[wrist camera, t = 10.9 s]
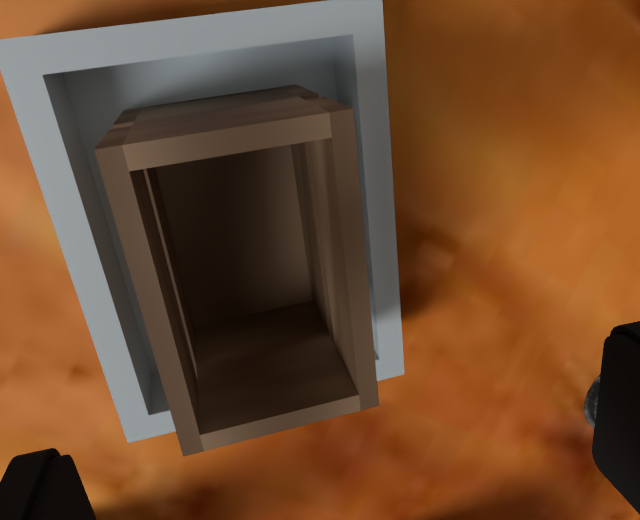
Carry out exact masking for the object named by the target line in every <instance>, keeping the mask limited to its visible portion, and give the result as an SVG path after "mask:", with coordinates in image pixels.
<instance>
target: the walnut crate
mask: <svg viewBox="0 0 640 520" xmlns="http://www.w3.org/2000/svg"><path fill="white" fill-rule="evenodd" d="M94 151H95V155H96V158H97V162H98V165H99V168H100V172H101V175H102V179H103V182H104V186H105V189H106V192H107V196H108V199H109V203H110V206H111V210H112V213H113V216H114V220H115V223H116V227H117V230H118V234H119V237H120V240H121V244H122V247H123V251H124V254H125V258H126V261H127V265H128V268H129V271H130V275H131V278H132V282H133V285H134V289H135V292H136V295H137V299H138V302H139V306H140V309H141V313H142V316H143V319H144V323H145V326H146V330H147V333H148V337H149V340H150V343H151V347H152V350H153V354H154V357H155V361H156V364H157V368H158V371H159V374H160V378H161V381H162V385H163V388H164V392H165V395H166V398H167V402H168V405H169V409H170V412H171V416H172V419H173V422H174V426H175V429H176V433H177V436H178V440H179V443H180V446H181V450H182V453H183V456H187V455H191V454H195V453H199V452H203V451H206V450H210V449H214V448H218V447H222V446H226V445H230V444H233V443H237V442H241V441H245V440H249V439H253V438H257V437H260V436H264V435H268V434H272V433H276V432H280V431H284V430H287V429H291V428H295V427H299V426H303V425H307V424H311V423H315V422H318V421H322V420H326V419H330V418H334V417H338V416H342V415H345V414H349V413H353V412H357V411H361V410H365V409H369V408H372V407H376V406H379V399H378V387H377V376H376V364H375V353H374V341H373V330H372V318H371V307H370V295H369V284H368V272H367V261H366V249H365V238H364V226H363V215H362V203H361V191H360V180H359V168H358V157H357V145H356V134H355V122H354V111H353V108H351V107H348V106H346V105H344V104H341V103H339V102H336V101H334V100H332V99H329V98H327V97H319V94H318V93H315V92H313V91H311V90H308V89H306V88H304V87H301V86H299V85H289V86H283V87H276V88H269V89H262V90H255V91H249V92H242V93H235V94H228V95H222V96H215V97H208V98H201V99H194V100H188V101H181V102H174V103H167V104H160V105H154V106H147V107H140V108H133V109H126V110H123V112H122V113H121V114H120V116H119V117H118V118H117V120H116V121H115V122H114V124H113V129H109V130H108V132H107V133H106V134H105V136H104V137H103V138H102V140H101V141H100V142H99V144H98V145H97V146H96V148H95V149H94Z"/></svg>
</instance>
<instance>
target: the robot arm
mask: <svg viewBox="0 0 640 520" xmlns="http://www.w3.org/2000/svg"><path fill="white" fill-rule="evenodd" d="M592 454H593V458H594V461H595V463H596V465H597V467H598V468H599V470H600V471H601V472H602V473H603V475H604V476H605V477H606V478H607V479H608V480H609V481H610V482H611V483H612V484H613V486H614V487H615V488H616V489H617V490H618V491H619V492H620V493H621V494H622V495H623V497H624V498H625V499H626V500H627V501H628V502H629V503H630V504H631V505H632V506H633V508H634V509H635V510H636V511H637V512H638V513H639V514H640V321H638V322H633V323H629V324H624V325H619V326H617V327H614V328H613V330H612V331H611V334H610V336H609V337H607V338H606V339H605V342H604V348H603V357H602V366H601V374H600V383H599V392H598V401H597V410H596V419H595V427H594V436H593V445H592ZM0 520H97V519H96V517H95V514H94V512H93V509H92V507H91V504H90V502H89V499H88V497H87V494H86V492H85V489H84V486H83V484H82V481H81V479H80V476H79V474H78V471H77V469H76V466H75V464H74V461H73V459H72V457H71V456H70V455H63V456H61V455H60V453H59V452H58V451H57V450H56V449H54V448H51V449H46V450H42V451H37V452H32V453H28V454H23V455H18V456H16V457H14V458H13V459H12V460H11V462H10V463H9V465H8V467H7V469H6V472H5V474H4V476H3V478H2V480H1V482H0Z"/></svg>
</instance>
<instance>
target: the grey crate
mask: <svg viewBox="0 0 640 520" xmlns="http://www.w3.org/2000/svg"><path fill="white" fill-rule="evenodd" d="M0 70H1V73H2V76H3V79H4V82H5V85H6V88H7V91H8V94H9V97H10V100H11V102H12V105H13V108H14V111H15V114H16V117H17V120H18V123H19V126H20V129H21V132H22V135H23V138H24V141H25V143H26V146H27V149H28V152H29V155H30V158H31V161H32V164H33V167H34V170H35V173H36V176H37V179H38V182H39V184H40V187H41V190H42V193H43V196H44V199H45V202H46V205H47V208H48V211H49V214H50V217H51V220H52V223H53V225H54V228H55V231H56V234H57V237H58V240H59V243H60V246H61V249H62V252H63V255H64V258H65V261H66V264H67V266H68V269H69V272H70V275H71V278H72V281H73V284H74V287H75V290H76V293H77V296H78V299H79V302H80V305H81V307H82V310H83V313H84V316H85V319H86V322H87V325H88V328H89V331H90V334H91V337H92V340H93V343H94V346H95V348H96V351H97V354H98V357H99V360H100V363H101V366H102V369H103V372H104V375H105V378H106V381H107V384H108V387H109V389H110V392H111V395H112V398H113V401H114V404H115V407H116V410H117V413H118V416H119V419H120V422H121V425H122V428H123V430H124V433H125V436H126V439H127V442H128V443H131V442H135V441H139V440H143V439H147V438H151V437H155V436H159V435H163V434H167V433H171V432H175V431H176V429H175V426H174V422H173V419H172V416H171V412H170V409H169V405H168V402H167V398H166V395H165V392H164V388H163V385H162V381H161V378H160V374H159V371H158V368H157V364H156V361H155V357H154V354H153V350H152V347H151V343H150V340H149V337H148V333H147V330H146V326H145V323H144V319H143V316H142V313H141V309H140V306H139V302H138V299H137V295H136V292H135V289H134V285H133V282H132V278H131V275H130V271H129V268H128V265H127V261H126V258H125V254H124V251H123V247H122V244H121V240H120V237H119V234H118V230H117V227H116V223H115V220H114V216H113V213H112V210H111V206H110V203H109V199H108V196H107V192H106V189H105V186H104V182H103V179H102V175H101V172H100V168H99V165H98V162H97V158H96V155H95V151H94V149H95V148H96V146H97V145H98V144H99V142H100V141H101V140H102V138H103V137H104V136H105V134H106V133H107V132H108V130H109V129H113V124H114V122H115V121H116V120H117V118H118V117H119V116H120V114H121V113H122V112H123V110H126V109H133V108H140V107H147V106H154V105H160V104H167V103H174V102H181V101H188V100H194V99H201V98H208V97H215V96H222V95H228V94H235V93H242V92H249V91H255V90H262V89H269V88H276V87H283V86H289V85H299V86H301V87H304V88H306V89H308V90H311V91H313V92H315V93H318V94H319V97H327V98H329V99H332V100H334V101H336V102H339V103H341V104H344V105H346V106H348V107H351V108H353V111H354V122H355V134H356V145H357V157H358V168H359V180H360V191H361V203H362V215H363V226H364V238H365V249H366V261H367V272H368V284H369V295H370V307H371V318H372V330H373V341H374V353H375V364H376V376H377V381H379V380H383V379H387V378H391V377H395V376H399V375H403V374H404V359H403V342H402V325H401V308H400V291H399V274H398V257H397V240H396V223H395V206H394V189H393V172H392V155H391V138H390V121H389V104H388V87H387V70H386V53H385V36H384V19H383V2H382V0H327V1H318V2H310V3H301V4H293V5H285V6H276V7H268V8H260V9H251V10H243V11H235V12H226V13H218V14H209V15H201V16H193V17H184V18H176V19H168V20H159V21H151V22H142V23H134V24H126V25H117V26H109V27H101V28H92V29H84V30H76V31H67V32H59V33H50V34H42V35H34V36H25V37H17V38H9V39H0Z"/></svg>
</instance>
